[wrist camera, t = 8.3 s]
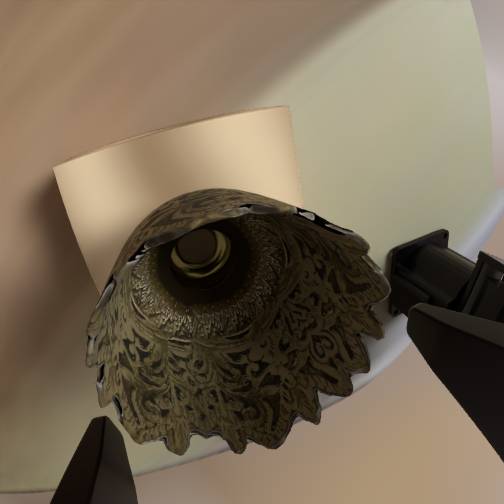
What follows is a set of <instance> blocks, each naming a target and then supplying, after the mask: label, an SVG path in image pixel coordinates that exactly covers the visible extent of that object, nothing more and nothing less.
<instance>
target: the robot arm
mask: <svg viewBox="0 0 504 504" xmlns="http://www.w3.org/2000/svg"><path fill="white" fill-rule="evenodd" d="M448 238H449V232H448V231H447V230H445V229H441V230H439V231H436V232H434V233H431V234H429V235H426V236H424V237H421V238H419V239H416V240H414V241H411V242H409V243H406V244H404V245H401V246H399V247H396V248H395V249H394V251H393V253H392V271H391V292H390V302H389V314H390V315H391V316H392V317H396V316H398V315H400V314H402V313H403V314H404V315H405V316H407V317H408V322H407V333H408V335H409V337H410V338H411V340H412V341H413V343H414V344H415V346H416V347H417V348H418V350H419V351H420V353H421V354H422V356H423V357H424V359H425V360H426V362H427V364H428V365H429V366H430V368H431V369H432V371H433V372H434V373H435V374H436V376H437V377H438V378H439V379H440V381H441V382H442V383H443V384H444V385H445V387H446V388H447V389H448V390H449V391H450V393H451V394H452V395H453V397H454V398H455V399H456V400H457V402H458V403H459V404H460V405H461V407H462V408H463V409H464V410H465V412H466V413H467V414H468V416H469V417H470V418H471V419H472V421H473V422H474V423H475V425H476V426H477V427H478V428H479V430H480V431H481V432H482V434H483V435H484V436H485V438H486V439H487V440H488V442H489V443H490V444H491V446H492V447H493V448H494V450H495V451H496V452H497V454H498V455H499V456H500V458H501V460H502V461H503V462H504V276H503V274H504V260H503V259H501V258H498V257H496V256H493V255H491V254H488V253H485V252H483V251H480V252H479V254H478V257H477V258H478V260H477V263H475V262H473V261H471V260H469V259H467V258H466V257H464V256H462V255H460V254H459V253H457V252H455V251H453V250H451V249H449V248H448ZM502 276H503V278H502ZM501 278H502V280H501ZM50 504H138V501H137V495H136V489H135V484H134V480H133V476H132V473H131V469H130V465H129V461H128V457H127V452H126V448H125V444H124V439H123V436H122V434H121V432H120V431H119V430H118V428H117V427H116V426H115V425H114V423H113V422H112V421H111V420H110V418H109V417H107V416H101V417H96V418H93V419H92V420H91V422H90V424H89V426H88V428H87V430H86V432H85V434H84V435H83V437H82V439H81V441H80V443H79V445H78V447H77V449H76V451H75V453H74V455H73V457H72V459H71V461H70V463H69V465H68V467H67V469H66V471H65V473H64V475H63V477H62V479H61V481H60V483H59V485H58V487H57V490H56V492H55V494H54V496H53V498H52V500H51V502H50Z"/></svg>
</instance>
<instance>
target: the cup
mask: <svg viewBox="0 0 504 504" xmlns="http://www.w3.org/2000/svg"><path fill="white" fill-rule="evenodd" d="M201 229H206V230H208V231H209V232H211V233H212V235H213V236H214V239H215V243H216V244H215V250H214V252H213V254H212V255H211V257H210V258H209V259H207V260H206V261H204V262H201V263H190V262H187V261H186V260H184V259H183V258H182V257H181V255H180V254H179V251H178V242H179V240H180V239H181V238H183V237H184V236H185V235H187V234H189V233H191V232H193V231H196V230H201ZM369 251H370V246H369V244H368V242H367V241H366V240H365V239H363V238H362V237H361V236H359V235H358V234H356V233H355V232H353V231H351V230H348V229H345V228H341V227H339V226H337V225H335V224H332V223H330V222H328V221H327V220H325V219H323V218H321V217H319V216H318V215H317V214H315V213H313V212H310V211H307V210H304V209H301V208H299V207H296V206H293V205H290V204H287V203H284V202H281V201H278V200H275V199H272V198H269V197H266V196H263V195H259V194H256V193H251V192H246V191H242V190H237V189H225V188H211V189H202V190H196V191H192V192H189V193H185V194H183V195H180V196H177V197H175V198H173V199H171V200H169V201H167V202H165V203H164V204H162V205H161V206H159V207H158V208H156V209H155V210H153V211H152V212H151V213H150V214H149V215H148V216H147V217H145V218H144V219H143V220H142V222H141V223H140V224H139V225H138V226H137V227H136V228H135V230H134V231H133V232H132V234H131V235H130V237H129V238H128V240H127V241H126V243H125V244H124V246H123V248H122V250H121V252H120V254H119V256H118V258H117V260H116V262H115V264H114V266H113V268H112V270H111V273H110V275H109V277H108V280H107V282H106V284H105V287H104V289H103V292H102V294H101V297H100V299H99V301H98V303H97V305H96V307H95V310H94V312H93V314H92V316H91V319H90V321H89V324H88V327H87V334H86V335H89V336H88V339H87V346H88V347H87V354H86V365H87V367H90V368H91V367H93V366H95V365H97V378H96V381H95V382H96V386H97V392H98V399H99V404H100V407H101V408H103V407H105V406H107V405H108V404H109V403H110V402H111V401H112V402H113V403H114V405H115V408H116V410H117V414H118V419H119V421H120V422H121V424H122V425H123V427H124V428H125V429H126V431H127V432H128V433H129V435H130V436H131V437H132V439H133V440H134V441H135V442H136V443H138V444H147V443H150V442H153V441H154V442H155V441H164V444H165V446H166V448H167V450H169V451H171V452H173V453H175V454H177V455H180V456H182V455H184V453H185V452H186V451H187V449H188V448H189V446H190V438H191V437H192V435H200V436H202V437H203V438H205V439H208V438H210V437H212V436H217V435H219V436H220V437H221V438H222V439H223V440H226V441H227V443H228V445H229V446H230V448H231V450H232V451H233V452H234V453H236V454H242V453H243V452H244V451H245V449H246V446H247V443H248V442H247V439H249V440H252V441H253V442H255V443H257V444H259V445H262V446H264V447H266V448H268V449H277V448H278V447H280V446H281V445H282V444H283V443H284V441H285V440H286V438H287V435H288V434H289V432H290V431H291V428H292V426H293V422H294V420H295V419H296V418H297V417H298V416H300V417H302V418H303V419H304V420H305V421H309V422H311V423H313V424H315V425H318V424H319V423H320V419H321V410H322V408H321V405H320V403H319V400H318V394H317V391H320V392H321V393H324V394H327V395H329V396H332V395H334V396H340V397H347V396H350V395H351V394H352V392H353V385H352V382H351V378H350V377H352V376H353V375H352V374H351V373H353V374H358V373H368V372H369V371H370V357H369V353H368V350H367V347H366V345H365V343H364V341H363V339H362V337H361V335H360V333H363V334H365V335H367V336H369V337H373V338H375V339H376V340H380V339H383V338H384V333H385V331H384V325H383V324H382V322H381V321H380V320H379V319H378V317H377V316H376V315H375V314H374V312H373V310H372V309H373V307H374V305H375V304H378V303H380V302H381V301H383V300H384V299H385V298H386V297H388V296H389V294H390V292H391V287H390V284H389V282H388V280H387V279H386V277H385V276H384V274H383V272H382V271H381V270H380V268H379V267H378V266H377V265H376V264H375V263H374V262H373V261H372V260H371V259H370V257H369V256H368V255H367V254H368V253H369ZM373 304H374V305H373ZM372 305H373V306H372ZM364 337H365V336H364ZM296 415H297V416H296ZM292 420H293V421H292ZM190 433H197V434H192V435H190ZM211 434H213V435H211Z"/></svg>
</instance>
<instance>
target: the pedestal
mask: <svg viewBox="0 0 504 504" xmlns="http://www.w3.org/2000/svg"><path fill="white" fill-rule="evenodd" d="M53 170H54V173H55V176H56V180H57V183H58V186H59V190H60V193H61V196H62V199H63V202H64V205H65V208H66V211H67V214H68V217H69V220H70V223H71V225H72V228H73V231H74V234H75V236H76V239H77V242H78V244H79V247H80V250H81V252H82V255H83V257H84V260H85V262H86V265H87V267H88V269H89V272H90V274H91V276H92V279H93V281H94V283H95V286H96V288H97V290H98V292H99V295H100V297H101V294H102V292H103V289H104V287H105V284H106V282H107V280H108V277H109V275H110V273H111V270H112V268H113V266H114V264H115V262H116V260H117V258H118V256H119V254H120V252H121V250H122V248H123V246H124V244H125V243H126V241H127V240H128V238H129V237H130V235H131V234H132V232H133V231H134V230H135V228H136V227H137V226H138V225H139V224H140V223H141V222H142V220H143V219H144V218H145V217H147V216H148V215H149V214H150V213H151V212H152V211H153V210H155V209H156V208H158V207H159V206H161V205H162V204H164V203H165V202H167V201H169V200H171V199H173V198H175V197H177V196H180V195H183V194H185V193H189V192H192V191H196V190H202V189H211V188H225V189H237V190H242V191H246V192H251V193H256V194H259V195H263V196H266V197H269V198H272V199H275V200H278V201H281V202H284V203H287V204H290V205H293V206H296V207H299V208H301V209H304V208H303V200H302V192H301V184H300V177H299V169H298V162H297V155H296V148H295V142H294V135H293V128H292V122H291V116H290V110H289V106H277V107H262V108H254V109H248V110H243V111H238V112H232V113H227V114H222V115H218V116H213V117H208V118H204V119H199V120H195V121H191V122H187V123H182V124H178V125H174V126H171V127H167V128H163V129H159V130H155V131H152V132H148V133H145V134H141V135H138V136H134V137H131V138H128V139H125V140H121V141H118V142H115V143H112V144H109V145H106V146H103V147H100V148H97V149H94V150H91V151H88V152H85V153H82V154H80V155H77V156H74V157H72V158H70V159H68V160H66V161H65V162H63V163H61V164H59V165H57V166H55V167H53ZM215 244H216V243H215V239H214V236H213V235H212V233H211V232H209V231H208V230H206V229H201V230H196V231H193V232H191V233H189V234H187V235H185V236H184V237H183V238H181V239H180V240H179V242H178V251H179V254H180V255H181V257H182V258H183V259H184V260H186V261H187V262H190V263H201V262H204V261H206V260H207V259H209V258H210V257H211V255H212V254H213V252H214V250H215Z"/></svg>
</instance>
